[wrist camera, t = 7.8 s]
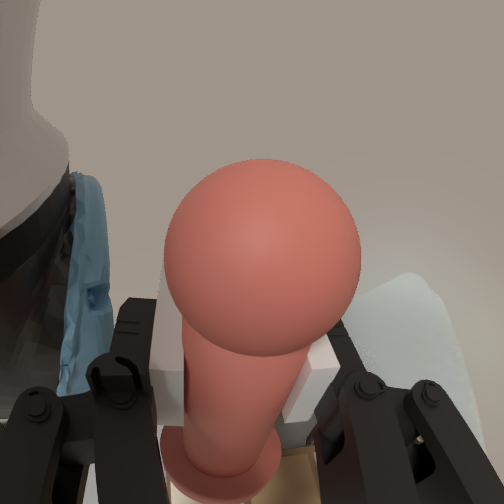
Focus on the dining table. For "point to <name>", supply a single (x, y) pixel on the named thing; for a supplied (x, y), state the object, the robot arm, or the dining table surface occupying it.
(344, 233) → the pawn
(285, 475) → the board
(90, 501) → the dining table surface
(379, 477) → the robot arm
